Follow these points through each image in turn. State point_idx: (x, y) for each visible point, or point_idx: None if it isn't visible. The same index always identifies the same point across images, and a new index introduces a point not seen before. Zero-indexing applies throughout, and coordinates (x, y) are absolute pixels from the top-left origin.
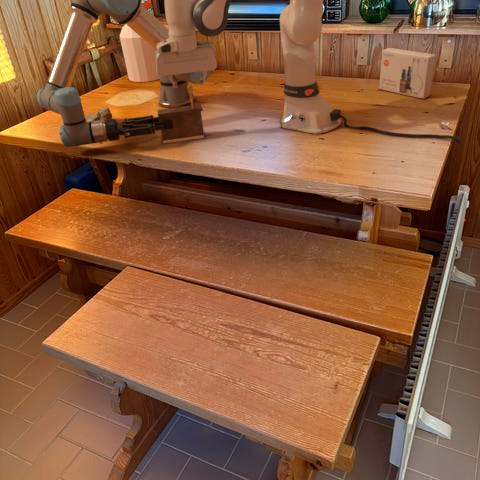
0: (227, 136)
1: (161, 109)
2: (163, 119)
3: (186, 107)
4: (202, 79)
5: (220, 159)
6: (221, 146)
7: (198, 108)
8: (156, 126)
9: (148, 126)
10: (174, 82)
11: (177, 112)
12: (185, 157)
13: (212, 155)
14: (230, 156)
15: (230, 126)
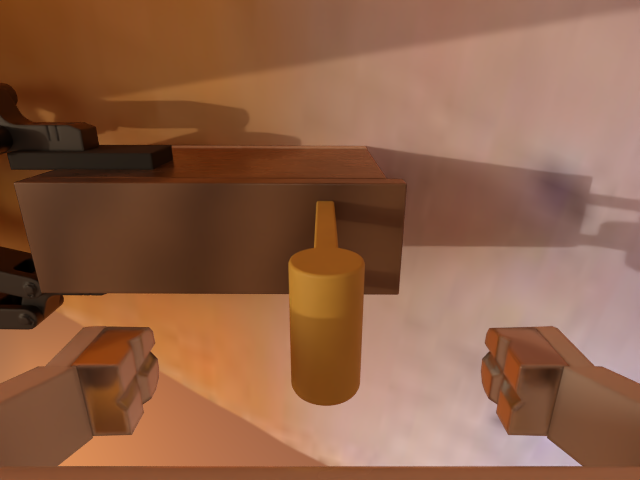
0: (481, 245)
1: (48, 190)
2: None
3: (272, 226)
4: (546, 430)
5: (391, 451)
6: (423, 346)
7: (369, 288)
8: (69, 293)
9: (14, 311)
10: (88, 410)
11: (198, 291)
12: (256, 396)
13: (368, 413)
14: (435, 441)
15: (543, 103)
